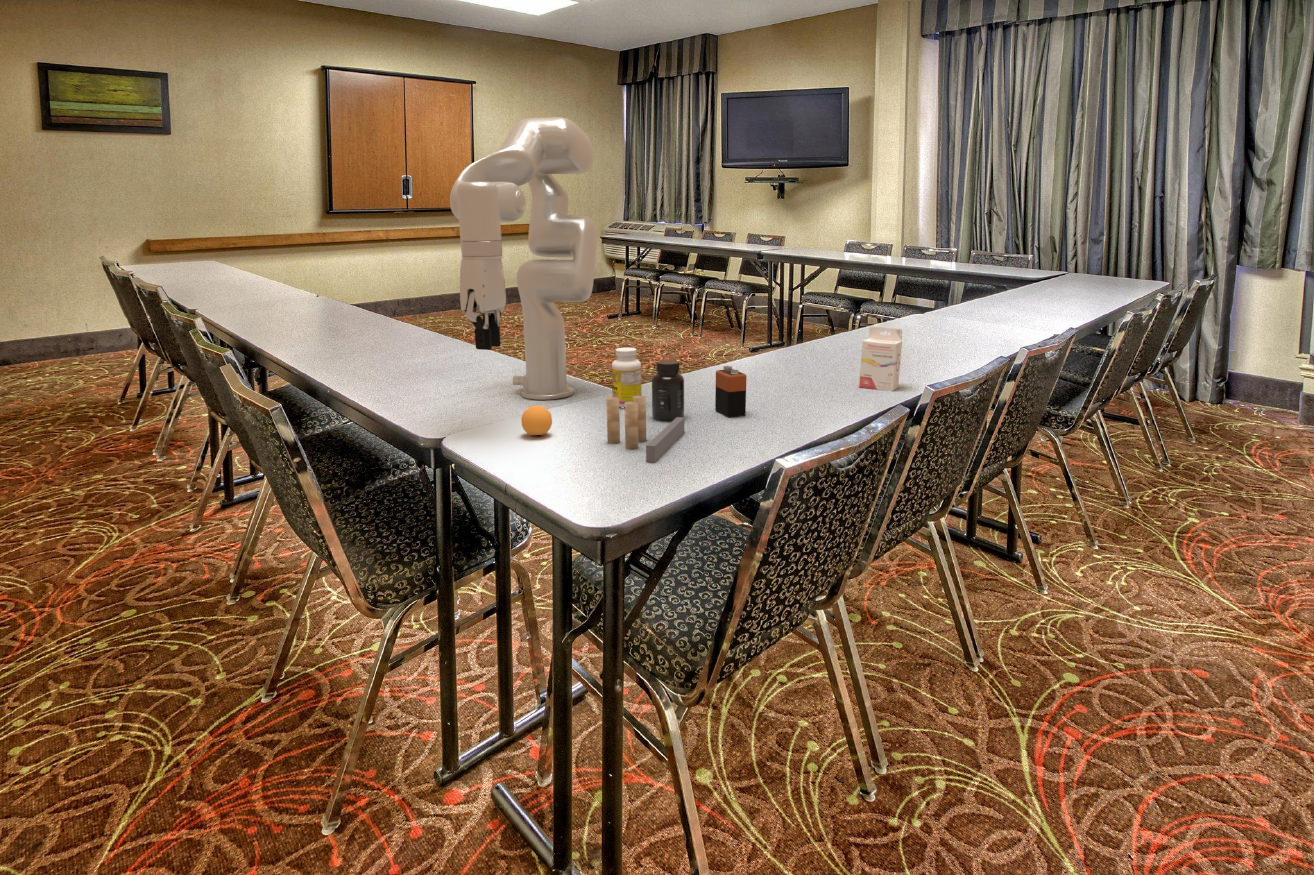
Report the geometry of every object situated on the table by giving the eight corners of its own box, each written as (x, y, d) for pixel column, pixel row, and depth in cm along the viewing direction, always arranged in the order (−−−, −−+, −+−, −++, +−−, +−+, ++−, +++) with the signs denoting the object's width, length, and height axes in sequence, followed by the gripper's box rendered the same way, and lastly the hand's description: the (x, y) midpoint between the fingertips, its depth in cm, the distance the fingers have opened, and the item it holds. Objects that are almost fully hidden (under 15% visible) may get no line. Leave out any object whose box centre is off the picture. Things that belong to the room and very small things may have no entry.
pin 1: (623, 448, 145) (622, 404, 143) (627, 445, 148) (627, 401, 145) (635, 449, 145) (635, 405, 142) (640, 446, 147) (639, 402, 145)
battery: (732, 409, 174) (733, 364, 171) (746, 416, 167) (747, 370, 165) (714, 410, 172) (714, 366, 169) (728, 418, 166) (729, 372, 163)
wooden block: (605, 443, 149) (604, 399, 147) (610, 439, 151) (609, 396, 149) (617, 444, 148) (616, 400, 146) (621, 440, 151) (620, 397, 148)
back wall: (646, 461, 138) (646, 445, 137) (676, 431, 156) (676, 417, 155) (654, 462, 137) (654, 446, 137) (684, 432, 156) (684, 417, 155)
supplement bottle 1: (612, 402, 180) (610, 346, 177) (640, 401, 181) (640, 346, 177) (612, 409, 174) (611, 352, 170) (642, 408, 174) (641, 351, 171)
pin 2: (632, 441, 150) (631, 398, 148) (636, 437, 152) (635, 395, 150) (644, 442, 149) (643, 398, 147) (648, 438, 152) (647, 396, 149)
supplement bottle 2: (645, 418, 166) (645, 363, 162) (663, 412, 171) (663, 357, 168) (672, 423, 162) (672, 366, 159) (690, 416, 168) (690, 361, 164)
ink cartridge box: (858, 387, 193) (862, 328, 189) (864, 384, 197) (868, 325, 193) (892, 391, 188) (897, 330, 184) (898, 388, 192) (903, 328, 188)
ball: (516, 438, 152) (515, 408, 151) (530, 430, 158) (528, 401, 156) (545, 440, 151) (543, 410, 149) (557, 432, 156) (556, 403, 154)
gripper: (485, 248, 155) (491, 340, 161) (440, 253, 141) (449, 354, 146) (519, 248, 153) (524, 342, 159) (477, 253, 138) (485, 356, 144)
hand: (488, 347), depth 152 cm, fingers open, 2 cm apart
